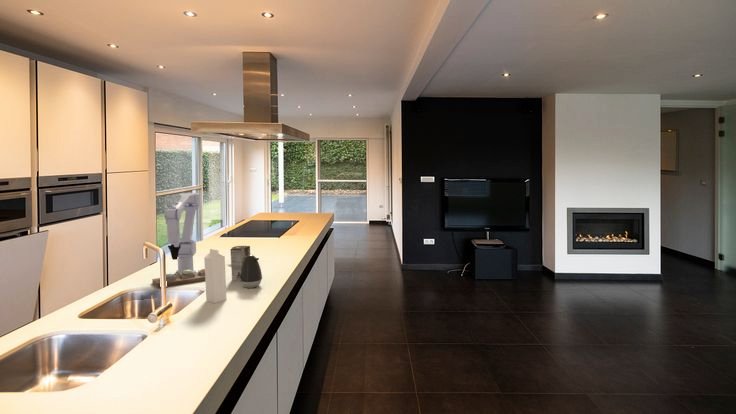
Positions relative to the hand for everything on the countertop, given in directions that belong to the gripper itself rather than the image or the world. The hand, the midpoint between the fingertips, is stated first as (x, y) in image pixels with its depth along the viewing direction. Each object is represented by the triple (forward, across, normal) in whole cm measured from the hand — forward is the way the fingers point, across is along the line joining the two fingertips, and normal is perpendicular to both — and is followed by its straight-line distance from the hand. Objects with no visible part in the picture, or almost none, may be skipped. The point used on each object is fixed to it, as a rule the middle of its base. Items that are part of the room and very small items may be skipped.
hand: (174, 259), depth 222 cm
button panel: (+10, -5, -5) cm, 13 cm away
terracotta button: (+8, -5, -14) cm, 16 cm away
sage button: (+7, -5, -5) cm, 10 cm away
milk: (+11, -47, -8) cm, 49 cm away
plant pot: (+10, +23, -40) cm, 47 cm away
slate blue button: (+8, -6, +4) cm, 11 cm away
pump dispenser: (+11, -35, -28) cm, 46 cm away
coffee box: (+11, -17, -28) cm, 35 cm away
